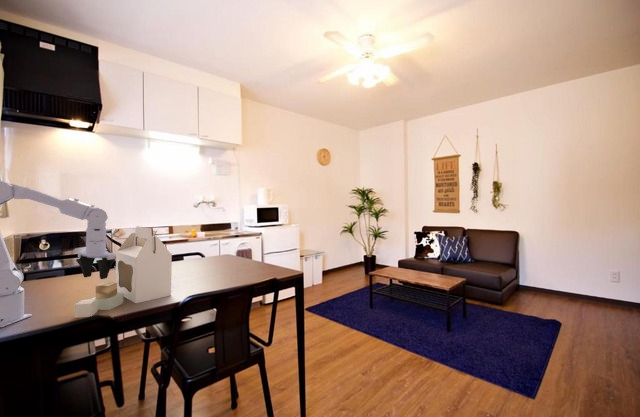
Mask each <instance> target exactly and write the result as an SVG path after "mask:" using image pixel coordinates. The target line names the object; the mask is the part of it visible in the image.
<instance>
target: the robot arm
mask: <svg viewBox="0 0 640 417" xmlns="http://www.w3.org/2000/svg"><path fill="white" fill-rule="evenodd" d="M13 199H14V200H31V201H34V202H37V203H40V204H44V205H47V206H51V207H55V208H57V209H58V210H59V212H60V213H61V214H63V215H65V216H69V217H72V218H74V219H78V220H80V221H84V220H87V227H86V232H85V233H86V235H85V236H86V237H85V239H86V240H85V247H86V248H85V251H83V250H82V251H78V252H77V257H78V258H76V260H75V261H76V262H77V264H78V265H79V267H80V270H81V272H82V275H83V278H89V277H92V275H93V265H94V262H96V264H97V266H98V270H99V279H100V280H105V279H107V278H108V276H109V273H110V270H111V267H112V266H113V264H114V262H116V258H115V253H112V252H109V251H108V250H107V249H106V248H107V226H106V225H107V223H106V222H107V221H108V217H109V216H108V214H107V212H106V211H105V210H104V209H102V208H100V207H95V204H87V203H84V202H81V201H79V200H80V199H78V198H71V197H70V198H66V199H61V198H58V197H55V196H52V195H50V194H48V193H44V192H42V191H40V190H36V189H33V188H30V187H28V186H24V185H19V184H18V185H17V184H14V183H9V182H6V181H3V180H0V207H1V206H2V205H4V204H5V203H7V202H9V201H10V200H13ZM96 259H98V260H96ZM95 260H96V261H95ZM24 278H25V277H24V273H23V272H22V271H21V270H19V269H18V268H17V266H16V263H14V261H13V260H12V257H11V255H10V252H9V250H8V246H7V245H6V242H5V239H4V237H3V234H2V231H1V230H0V327H1V328H3V327H5V326H10V325H12V324H14V323H16V322H20V321H21V320H24V319H27V318H29V317H32V315H33V314H32V313H28V314H27V313H25V288H24V287H22V286H21V284H22V283H23V281H24Z"/></svg>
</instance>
